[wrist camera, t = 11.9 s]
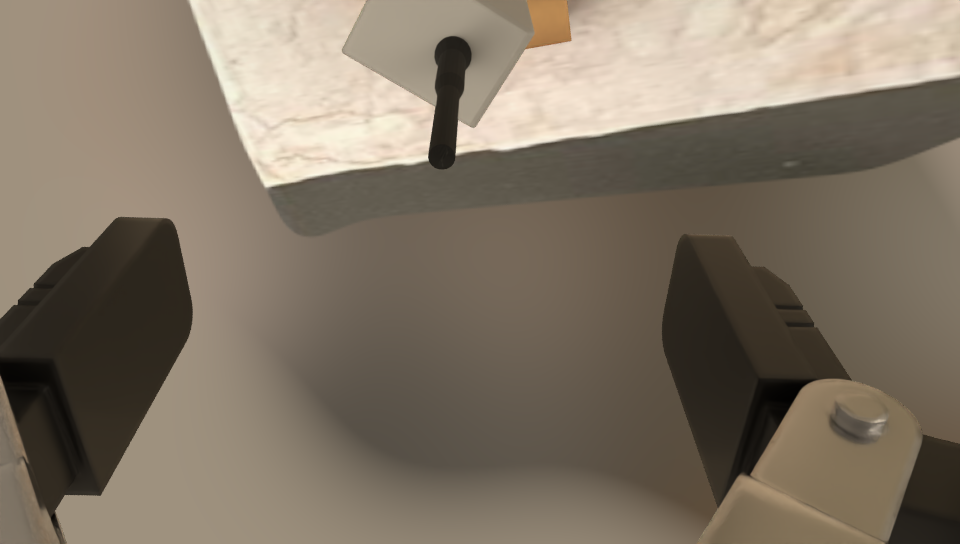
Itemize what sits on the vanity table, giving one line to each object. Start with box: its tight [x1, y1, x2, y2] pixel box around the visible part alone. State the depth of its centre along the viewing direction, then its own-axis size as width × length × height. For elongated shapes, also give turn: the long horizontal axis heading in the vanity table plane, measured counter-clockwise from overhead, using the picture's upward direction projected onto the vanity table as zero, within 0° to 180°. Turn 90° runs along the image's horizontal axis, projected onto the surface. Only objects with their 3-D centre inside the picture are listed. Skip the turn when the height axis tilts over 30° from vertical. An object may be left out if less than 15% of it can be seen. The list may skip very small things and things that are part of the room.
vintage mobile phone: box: [342, 0, 535, 169], centre depth 27 cm, size 4×5×25 cm
